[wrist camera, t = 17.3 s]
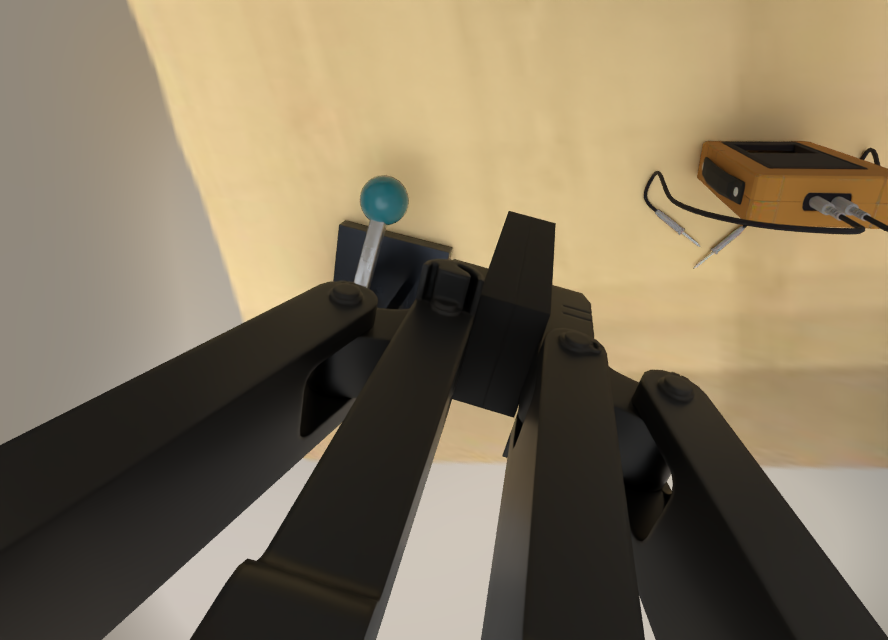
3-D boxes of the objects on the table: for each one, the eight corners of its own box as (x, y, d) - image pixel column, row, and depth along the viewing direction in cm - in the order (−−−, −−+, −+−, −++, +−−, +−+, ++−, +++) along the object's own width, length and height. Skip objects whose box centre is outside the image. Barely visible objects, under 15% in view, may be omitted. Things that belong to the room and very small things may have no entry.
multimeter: (632, 265, 45) (677, 400, 27) (649, 139, 40) (716, 204, 23) (828, 273, 42) (1019, 430, 24) (869, 140, 38) (1139, 214, 20)
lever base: (345, 220, 48) (271, 275, 36) (452, 247, 47) (414, 314, 35) (332, 333, 54) (265, 415, 42) (428, 360, 53) (388, 451, 41)
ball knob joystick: (372, 178, 42) (362, 164, 38) (417, 189, 41) (410, 175, 38) (322, 366, 42) (307, 370, 38) (366, 379, 41) (354, 383, 38)
